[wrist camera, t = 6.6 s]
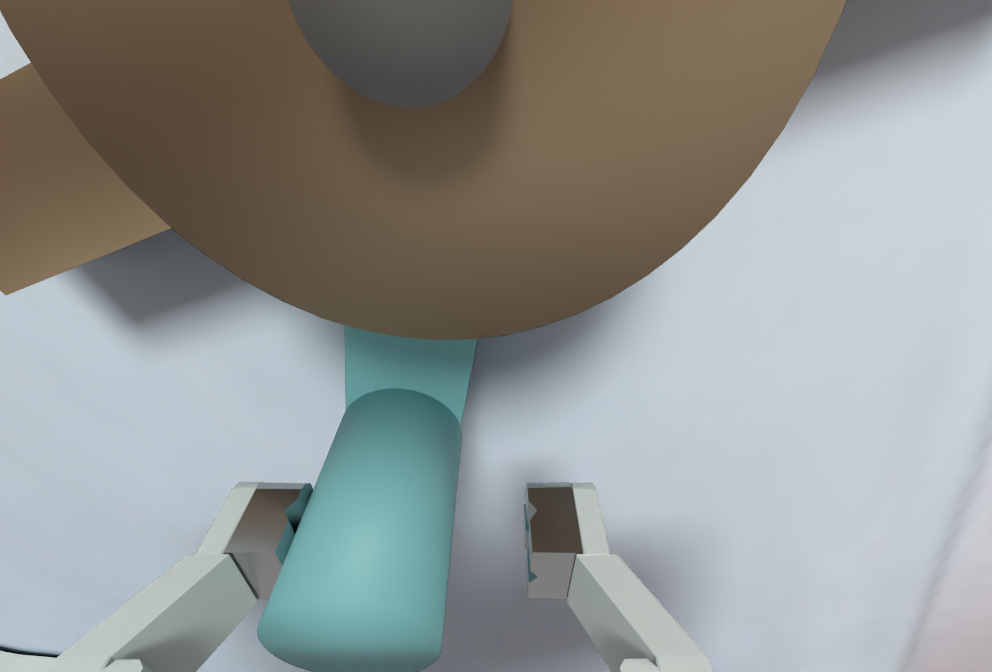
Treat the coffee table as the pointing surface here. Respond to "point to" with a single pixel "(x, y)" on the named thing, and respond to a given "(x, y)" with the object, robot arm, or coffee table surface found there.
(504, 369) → the coffee table surface
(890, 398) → the coffee table surface
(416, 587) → the teal crank handle
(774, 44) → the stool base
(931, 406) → the coffee table surface
